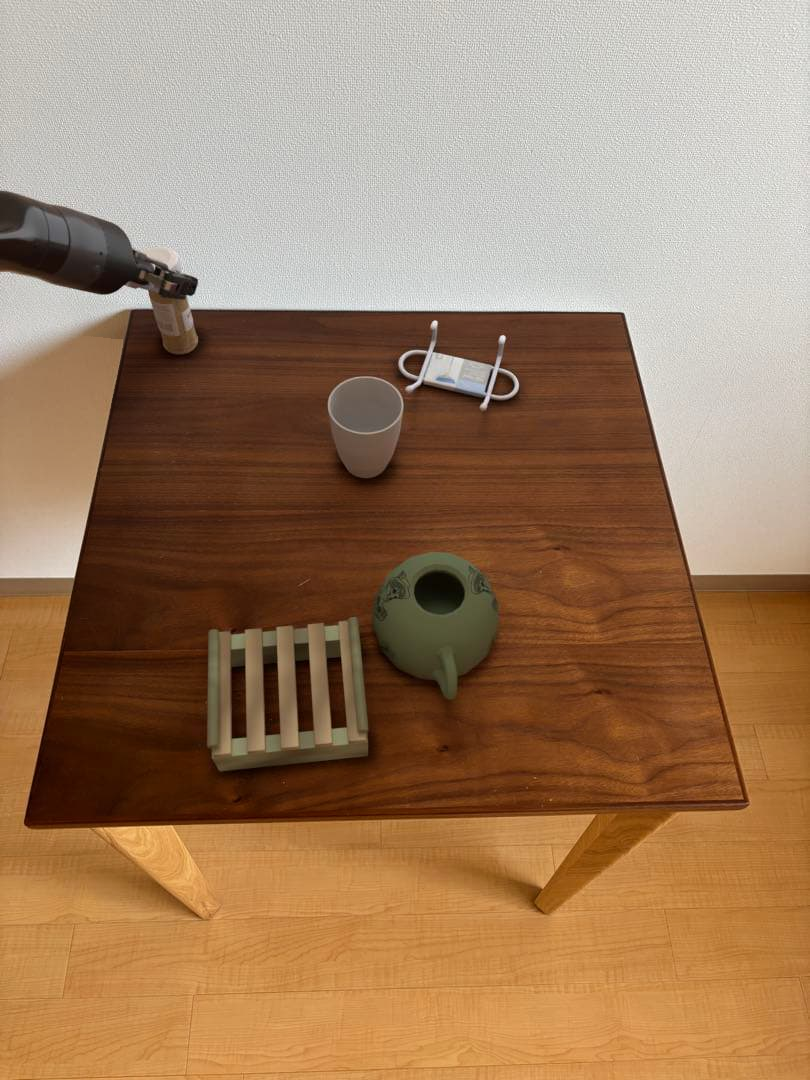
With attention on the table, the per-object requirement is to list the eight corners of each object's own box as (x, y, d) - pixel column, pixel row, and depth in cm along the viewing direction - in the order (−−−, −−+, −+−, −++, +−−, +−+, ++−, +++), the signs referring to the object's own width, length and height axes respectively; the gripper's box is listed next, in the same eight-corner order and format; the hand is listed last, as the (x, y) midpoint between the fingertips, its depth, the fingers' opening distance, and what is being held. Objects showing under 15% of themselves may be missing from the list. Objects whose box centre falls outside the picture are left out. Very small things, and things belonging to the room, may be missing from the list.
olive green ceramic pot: (365, 580, 87) (365, 538, 80) (484, 570, 89) (494, 527, 81) (381, 724, 79) (382, 691, 72) (511, 710, 80) (526, 677, 73)
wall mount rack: (524, 365, 105) (532, 332, 100) (504, 445, 98) (511, 413, 93) (407, 340, 107) (409, 305, 102) (379, 416, 100) (379, 383, 95)
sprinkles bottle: (205, 344, 105) (186, 258, 93) (176, 361, 103) (153, 276, 92) (184, 325, 107) (162, 239, 95) (155, 342, 105) (129, 256, 93)
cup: (367, 423, 99) (367, 365, 90) (414, 462, 96) (419, 406, 88) (317, 459, 96) (312, 402, 87) (364, 501, 93) (363, 446, 84)
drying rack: (217, 771, 76) (206, 750, 71) (218, 653, 82) (207, 625, 77) (369, 756, 77) (369, 733, 72) (358, 641, 84) (357, 612, 78)
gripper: (140, 240, 79) (234, 270, 95) (32, 188, 83) (140, 226, 99) (117, 313, 81) (213, 331, 97) (12, 260, 85) (121, 285, 101)
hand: (176, 278), depth 98 cm, fingers closed on sprinkles bottle, 4 cm apart
